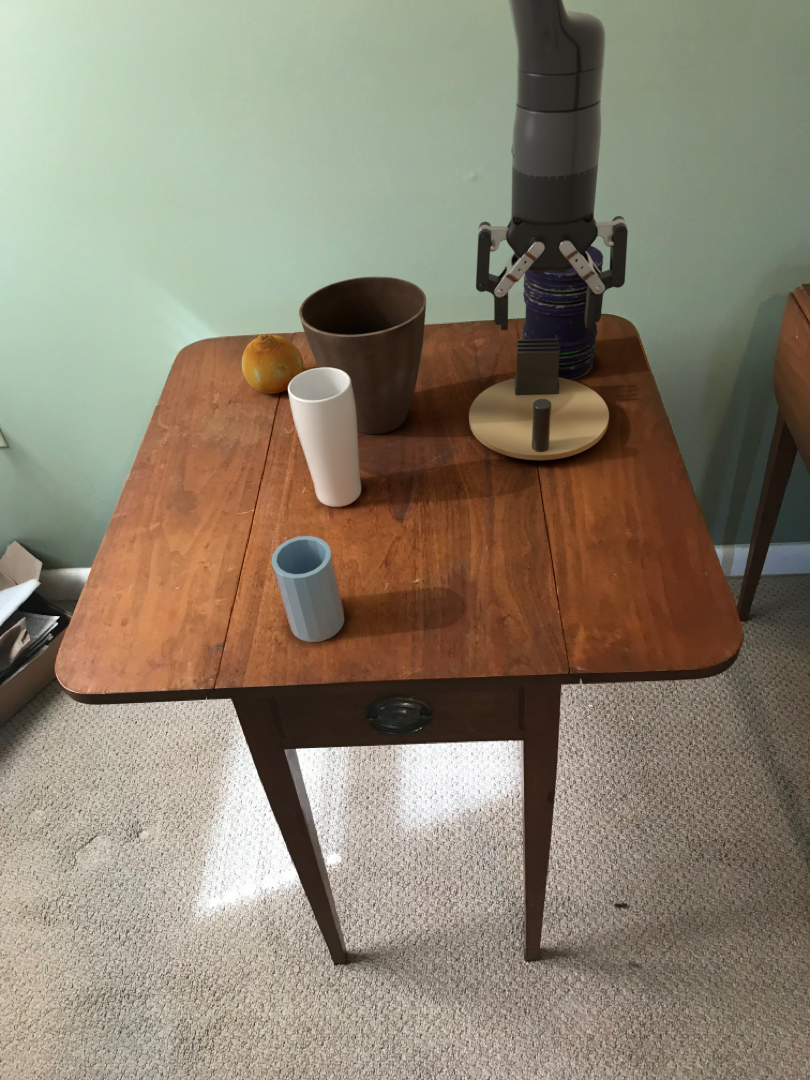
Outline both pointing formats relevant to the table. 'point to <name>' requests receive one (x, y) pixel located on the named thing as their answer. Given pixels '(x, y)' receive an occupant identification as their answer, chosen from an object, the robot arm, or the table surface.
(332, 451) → the drinking glass
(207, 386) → the table surface
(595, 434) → the round wooden platform
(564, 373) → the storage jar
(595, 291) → the robot arm
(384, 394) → the flower pot
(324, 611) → the cup
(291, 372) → the fruit
